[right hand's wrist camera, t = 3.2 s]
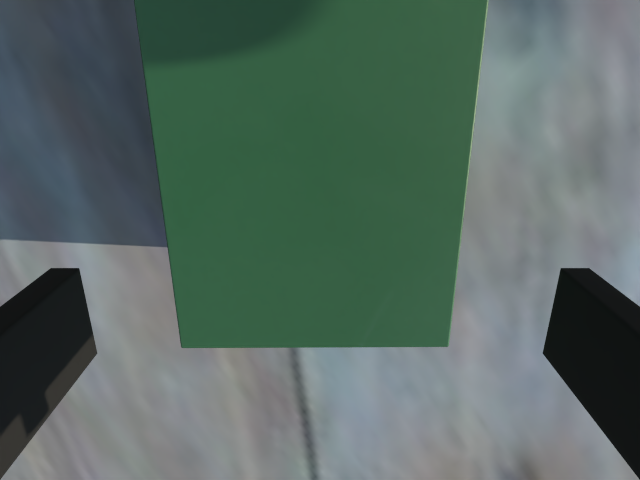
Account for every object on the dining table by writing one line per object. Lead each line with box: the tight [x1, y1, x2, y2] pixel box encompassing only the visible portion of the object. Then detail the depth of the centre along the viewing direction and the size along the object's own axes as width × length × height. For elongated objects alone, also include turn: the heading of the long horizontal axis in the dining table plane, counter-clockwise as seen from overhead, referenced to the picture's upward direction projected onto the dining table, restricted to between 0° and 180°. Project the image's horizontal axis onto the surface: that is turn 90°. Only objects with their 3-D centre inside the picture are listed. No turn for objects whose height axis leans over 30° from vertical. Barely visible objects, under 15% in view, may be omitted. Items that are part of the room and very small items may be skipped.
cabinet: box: [134, 0, 488, 348], centre depth 21 cm, size 15×11×11 cm
